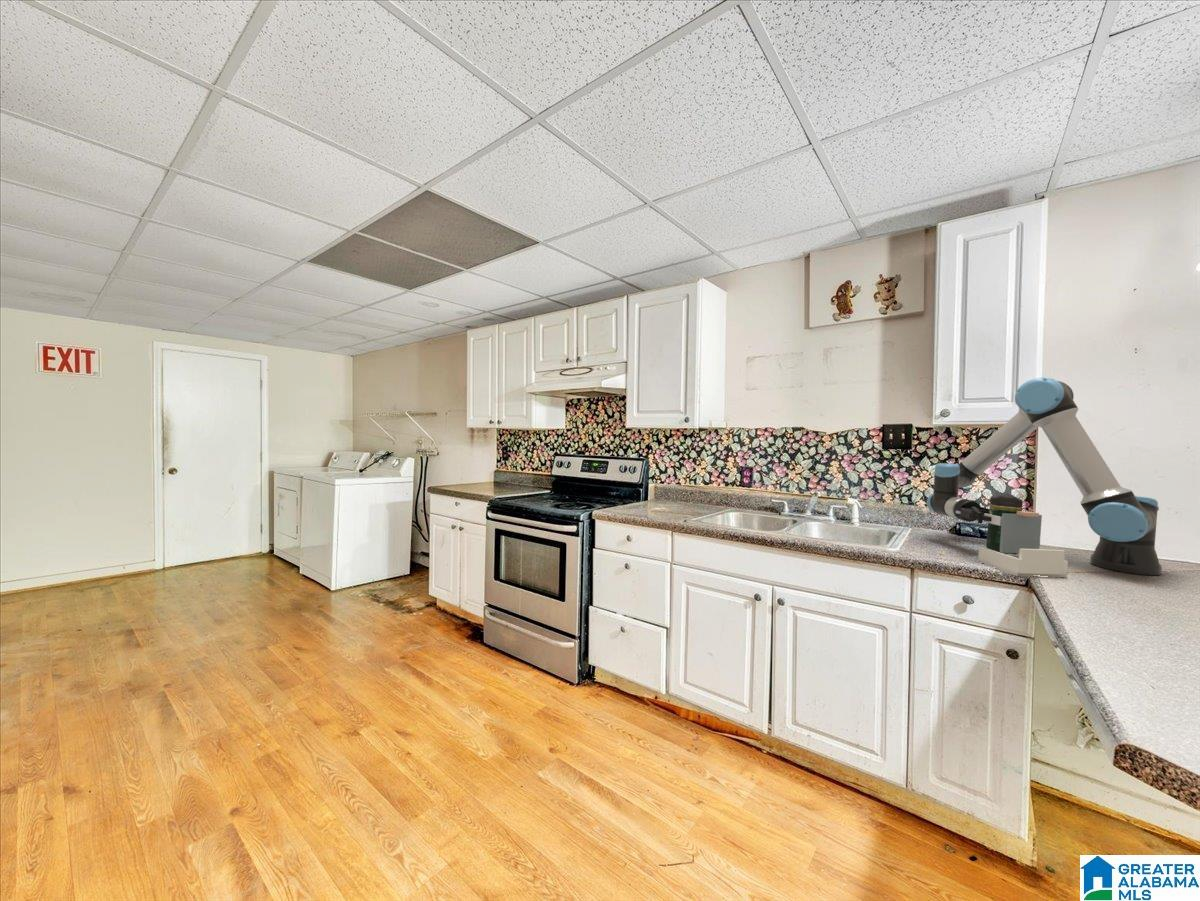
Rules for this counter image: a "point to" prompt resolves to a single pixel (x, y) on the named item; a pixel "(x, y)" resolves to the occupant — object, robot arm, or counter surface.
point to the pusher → (1020, 531)
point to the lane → (1027, 562)
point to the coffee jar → (997, 507)
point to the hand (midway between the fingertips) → (1016, 521)
